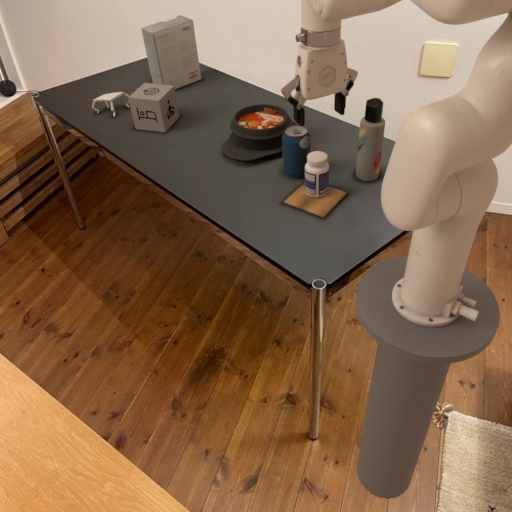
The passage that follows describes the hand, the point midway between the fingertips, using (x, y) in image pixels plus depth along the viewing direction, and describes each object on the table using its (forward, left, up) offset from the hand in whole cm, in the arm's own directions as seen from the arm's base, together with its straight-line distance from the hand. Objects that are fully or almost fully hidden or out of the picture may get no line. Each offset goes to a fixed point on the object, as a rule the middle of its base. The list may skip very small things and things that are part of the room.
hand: (319, 118), depth 109 cm
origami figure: (+79, -6, -21) cm, 82 cm away
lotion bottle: (-6, -14, -21) cm, 26 cm away
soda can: (+10, -6, -21) cm, 24 cm away
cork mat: (0, +1, -21) cm, 21 cm away
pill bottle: (+1, -1, -20) cm, 20 cm away
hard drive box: (+75, -31, -21) cm, 84 cm away
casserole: (+26, -13, -21) cm, 36 cm away
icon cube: (+61, -7, -21) cm, 65 cm away
